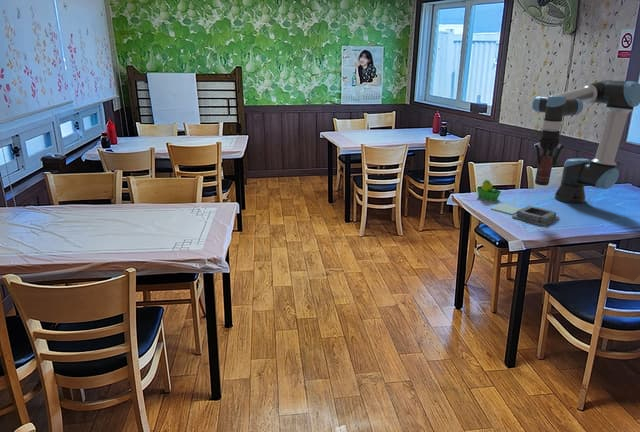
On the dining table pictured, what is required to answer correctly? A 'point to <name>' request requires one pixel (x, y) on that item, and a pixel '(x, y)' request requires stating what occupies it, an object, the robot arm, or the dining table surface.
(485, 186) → the fruit basket
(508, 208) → the mat
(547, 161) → the can
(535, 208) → the socket block
